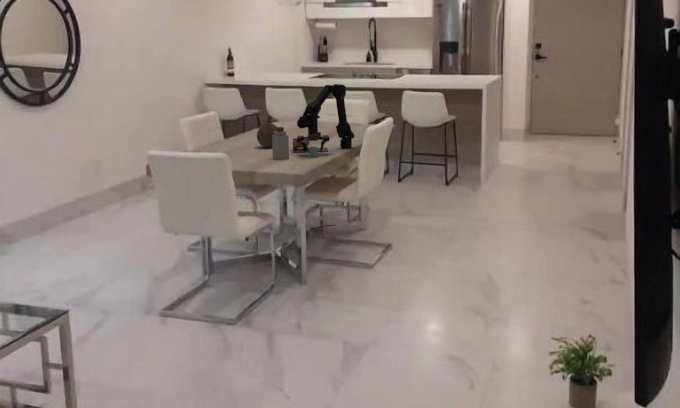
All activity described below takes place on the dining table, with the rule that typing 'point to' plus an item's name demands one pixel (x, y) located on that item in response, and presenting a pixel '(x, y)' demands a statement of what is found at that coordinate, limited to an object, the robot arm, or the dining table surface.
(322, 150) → the rail
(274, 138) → the perfume bottle
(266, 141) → the cantaloupe
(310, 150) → the block
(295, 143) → the cart
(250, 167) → the dining table surface
